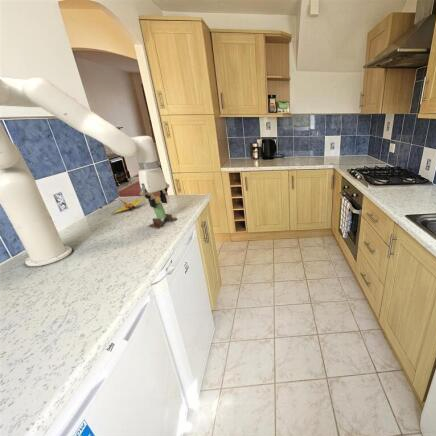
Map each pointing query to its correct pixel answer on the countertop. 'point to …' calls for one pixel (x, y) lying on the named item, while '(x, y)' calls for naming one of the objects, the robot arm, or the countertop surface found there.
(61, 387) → the countertop surface
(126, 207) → the origami crane
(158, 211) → the peg doll
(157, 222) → the stand
